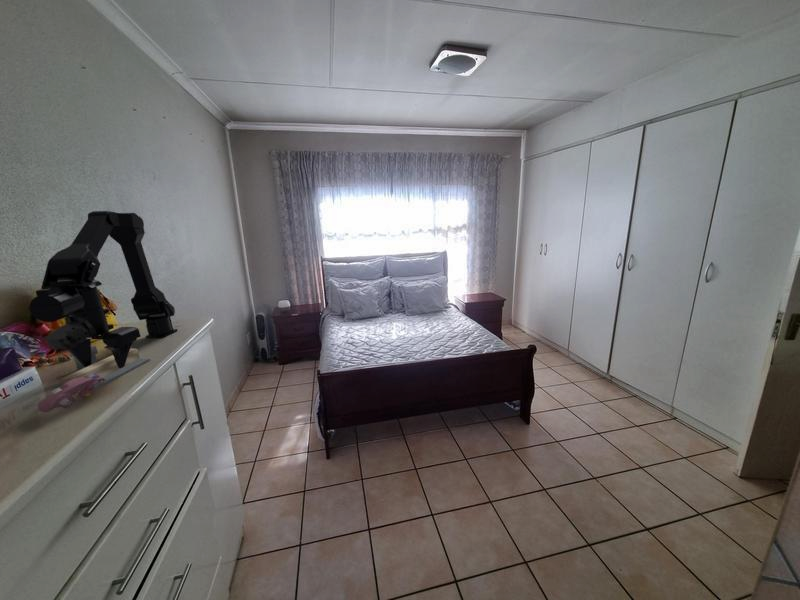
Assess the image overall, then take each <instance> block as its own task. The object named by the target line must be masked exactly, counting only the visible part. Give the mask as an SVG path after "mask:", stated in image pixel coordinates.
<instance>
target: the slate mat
mask: <svg viewBox="0 0 800 600" xmlns="http://www.w3.org/2000/svg"><path fill="white" fill-rule="evenodd" d="M149 361H150V362H151V359H150V358H140V359H138V360H136V361H134V362H132V363H130V364H128V365H126V366H124V367H123V368H120V369H118V370H116V371H115V372H113V373H111V374H109V375H107V376H105V377H103V378H104V379H105V381H104V383H103V384H102V385H101V386H100V387H99V388H97V389H96V390H98V389H100V388H102V387H103V386H106V385H107V384H110V383H111V382H113V381H115V380H117V379H119V378H120V377H122V376H124V375H125V374H127V373H129V372H131V371H133V370H135V369H136V368H139V367H140V366H143V365H144V364H146V363H148V362H149ZM60 387H61V386H59V387H58V388H60Z"/></svg>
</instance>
